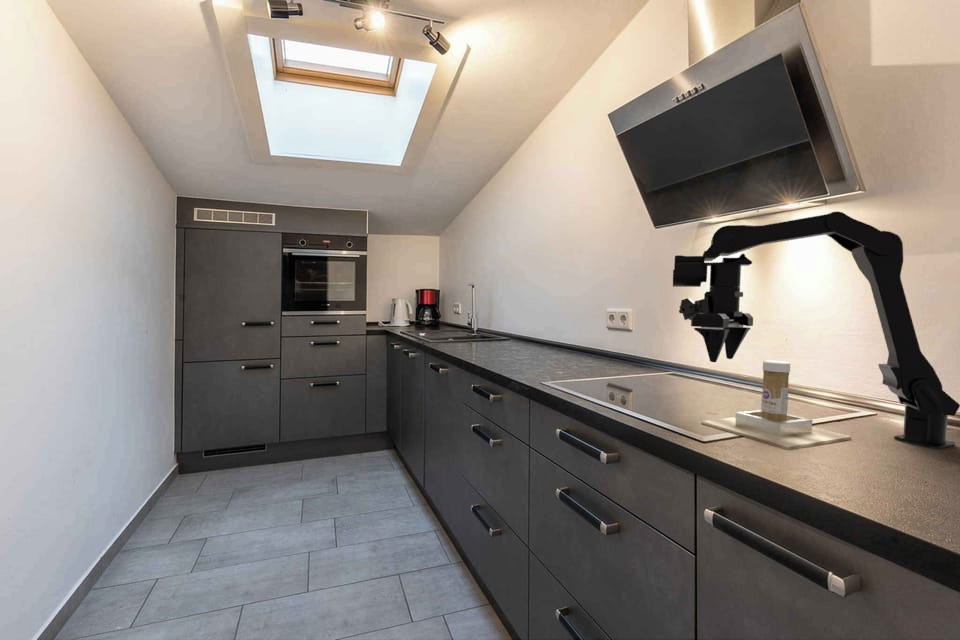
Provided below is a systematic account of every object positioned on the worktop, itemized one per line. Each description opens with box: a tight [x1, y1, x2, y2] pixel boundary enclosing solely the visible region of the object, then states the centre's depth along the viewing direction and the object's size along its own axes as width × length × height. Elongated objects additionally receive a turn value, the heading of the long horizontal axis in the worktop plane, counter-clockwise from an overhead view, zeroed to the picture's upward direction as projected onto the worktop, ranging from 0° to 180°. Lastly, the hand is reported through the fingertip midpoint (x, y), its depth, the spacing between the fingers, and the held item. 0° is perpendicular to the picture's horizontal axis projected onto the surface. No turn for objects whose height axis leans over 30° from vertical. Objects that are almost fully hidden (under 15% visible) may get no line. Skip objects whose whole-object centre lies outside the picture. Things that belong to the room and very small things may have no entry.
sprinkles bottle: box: [760, 359, 791, 422], centre depth 91 cm, size 5×5×13 cm
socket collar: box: [735, 409, 813, 437], centre depth 91 cm, size 9×9×2 cm
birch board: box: [701, 416, 852, 451], centre depth 91 cm, size 18×18×1 cm
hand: (721, 360), depth 98 cm, fingers open, 9 cm apart
